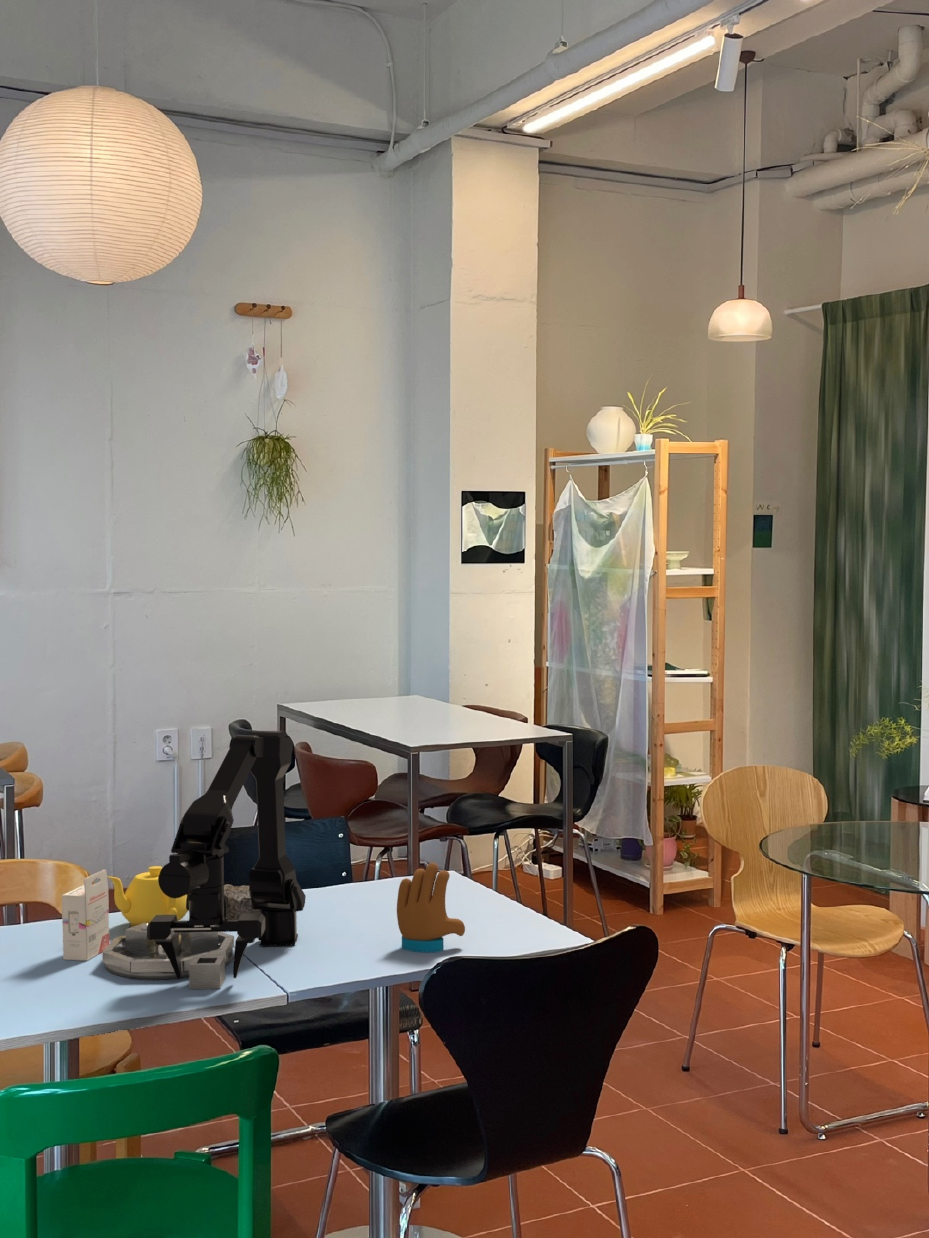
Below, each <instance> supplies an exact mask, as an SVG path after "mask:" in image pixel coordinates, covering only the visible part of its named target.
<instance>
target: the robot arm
mask: <svg viewBox="0 0 929 1238" xmlns="http://www.w3.org/2000/svg"><path fill="white" fill-rule="evenodd" d="M228 748H229V749H228V751H227V753H226V755H225V756H224V758H223V760H222V762H221V763H220V766H219V768H218V770H217V771H216V774H215V775H214V777H213V780H212V781H211V784H210V785H209V787H208V788H207V791H206V792H205V793H204V794H203V795H202V796H199V798H197V799H195V800H193V802H192V803H191V804H190V805H189V807H188V808H187V810H185V812H184V814H183V816H182V818H181V820H180V823H179V825H178V829H177V831H176V835H175V838H174V841H173V844H172V847H171V849H170V852H171V854H170V855H169V856H168V861H169V862H168V863H166V864H164V866H162V869H161V871H160V874H159V876H158V882H159V886H160V889H161V890H162V892H163V893H164V894H165V895H167V896H168V897H170V898H180V897H182V896H185V895H187V898H186V909H187V910H188V918H189V919H188V920H178V921H177V916H176V915H156V916H155V917H154V918H153V919H152V920H151V921H150V922H149V924H148V925H147V939H149V940H156V941H155V944H156V945H161V946H162V948H163V950H164V951H165V953H166V955H167V956H168V958H169V960H170V962H171V965H172V967H173V969H174V972H175V974H176V976H177V978H176V979H178V980H181V979H182V978H181V960H180V950H179V932H223V933H225V932H226V933H228V932H230V933H231V932H232V933H233V932H236V935H237V937H236V939H235V940H234V952H233V965H232V966H233V967H232V968H233V969H232V974H233V976H232V977H233V979H237V976H238V973H239V970H240V966H241V963H242V961H243V957H244V953H245V951H246V948H247V947H248V944H253V943H254V942H255V941H256V939H258V941H259V946H260V947H265V946H266V947H270V946H272V947H273V946H274V947H276V946H279V947H281V946H282V947H283V946H295V945H296V943H297V940H298V937H299V933H297V931H298V930H297V927H298V926H297V923H298V922H297V912H302V911H303V910H304V908H305V905H306V894H305V892H304V891H303V889H302V887H301V885H300V884H299V882H298V881H297V874H296V868H295V866H294V864H293V863H292V862H291V861H292V860H290V858H289V857H288V855H287V852H286V851H287V850H286V831H285V829H286V828H285V827H286V825H285V799H284V797H285V796H284V794H285V793H284V776H285V774H287V773H286V772H287V771H288V769H289V768H290V765H291V763H292V754H293V749H294V741H293V739H292V738H291V736H289V734H288V732H286V731H283V730H279V731H278V730H256V729H255V730H252V731H251V732H250V733H249V734H248V735H247V734H237V735H235V736H232V737H231V739H230V741H229V747H228ZM250 773H251V774H252V776H253V778H254V779H255V784H256V786H255V787H256V804H257V805H256V807H257V808H256V809H257V834H258V835H257V837H258V859H257V861H256V863H255V864H254V866H253V868H250V870H249V873H248V879H249V885H248V886H249V892H250V897H251V902H252V907H253V910H261V913H257V914H241V916H240V918H239V919H238V920H227V919H224V918H226V917H227V916H228V897H227V896H225V895H224V885H225V879H224V878H225V869H224V868H225V866H224V865H225V863H224V862H225V861H224V859H225V858H224V857H225V856H224V854H227V853H229V851H230V849H229V847H228V846H227V845H226V844H225V843H226V841H227V840H228V839H229V836H230V834H231V832H232V827H233V823H234V820H235V819H234V816H233V810H232V809H233V807H234V804H235V802H236V800H237V798H238V796H239V794H240V792H241V790H242V788H243V786H244V784H245V782H246V780H247V778H248V776H249V774H250ZM213 925H214V927H212V926H213ZM195 926H201V927H195ZM202 926H203V927H202Z"/></svg>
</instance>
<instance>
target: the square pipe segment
mask: <svg viewBox="0 0 929 1238" xmlns="http://www.w3.org/2000/svg"><path fill="white" fill-rule="evenodd" d="M225 969H226V966H225V956H195V957H194V958H193V960H192V962H191V963H190V965H189V977H188V980H189V983H188V984H189V985H188V988H189V990H221V988H222V986H223V984H224V982H225V980H226V970H225Z"/></svg>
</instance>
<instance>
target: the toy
mask: <svg viewBox="0 0 929 1238" xmlns="http://www.w3.org/2000/svg"><path fill="white" fill-rule="evenodd" d="M449 879H450V872H449V871H447V870H445V869H442V870H440V871H439V866H438V864H437V863H435V862H430V863H428V864H427V866H426V868H425V869H424V868H418V869H416V870H415V871H414V873H413V875H412V879H410V878H403V879H402V880H401V881H400V884H399V886H398V887H399V888H398V891H397V901H396V919H397V925H398V929H399V931H400V934H401V949H403V950H406V951H408V952H409V951H410V952H415V953H416V952H417V953H438V952H442V951H444V937H445V936H447V935H451V934H456V935H458V937H459V936H460V937H463V936H464V934H465V932H466V927H465V924H464V922H463V920H461V919H459V918H450V917H448V914H447V910H446V909H447V908H446V894H447V885H448V883H449Z"/></svg>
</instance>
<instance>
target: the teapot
mask: <svg viewBox="0 0 929 1238" xmlns="http://www.w3.org/2000/svg"><path fill="white" fill-rule="evenodd" d="M162 868H163V866H160V865H159V866H158V865H153V866H150V867H148V871H146V872H142V873H139V874H137V875H135V876H134V877H133V879H132V880H131V882H130V883H129V885H128V887H127V888H126V890H125V891H124V888H123V887H124V885H123V883H122V880H121V879H120V878H119V877H114V876H109V875H107V879H109V880H111V882H112V883H113V887H114V891H113V893H114V896H113V897H114V904H115V906H116V908H117V909H118V910H119V911H120V912H121V915H122V916H123V917H124V918H125V920H127V922H129V923H130V925H129V926H130V927H134V926H137V925H140V924H142V923H149V922H150V921H151V920H152V919H153V918H154V917H155V916H156V915H176V916H177V921H182V920H183V919H184V917H185V916H186V915H187V913H189V911H188V910H187V909H186V898H187V895H185V896H182V897H180V898H170V897H168V896H167V895H165V894H164V893H163V892H162V890H161V889H160V886H159V882H158V876H159V874H160V871H161V869H162Z"/></svg>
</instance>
